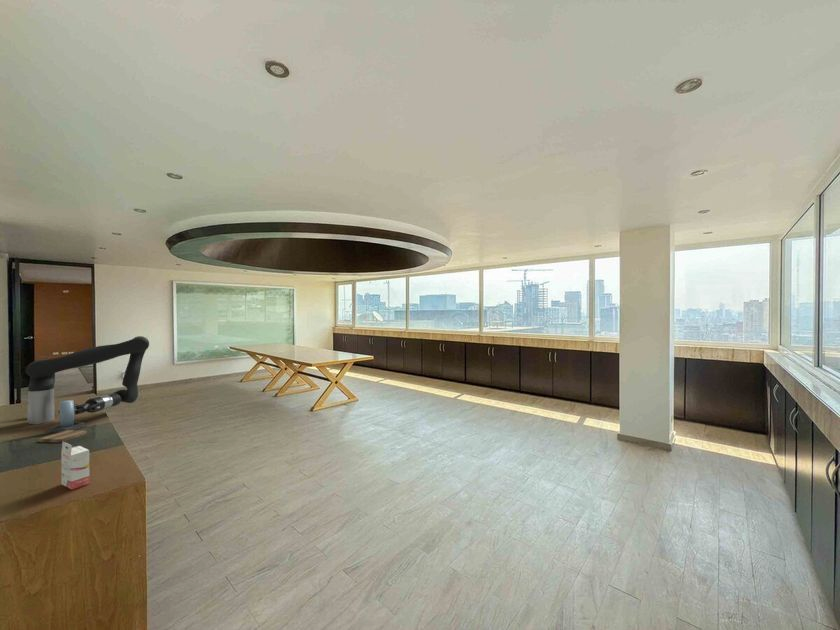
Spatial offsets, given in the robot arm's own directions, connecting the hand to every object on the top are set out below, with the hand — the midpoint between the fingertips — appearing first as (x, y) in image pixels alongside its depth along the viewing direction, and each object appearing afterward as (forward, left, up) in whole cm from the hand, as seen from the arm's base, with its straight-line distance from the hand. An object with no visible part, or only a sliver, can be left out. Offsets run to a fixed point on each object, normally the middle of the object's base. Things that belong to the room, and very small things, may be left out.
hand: (67, 412), depth 172 cm
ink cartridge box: (+62, -51, -9) cm, 81 cm away
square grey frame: (0, 0, -8) cm, 8 cm away
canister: (0, 0, -8) cm, 8 cm away
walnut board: (+11, -11, -8) cm, 18 cm away
